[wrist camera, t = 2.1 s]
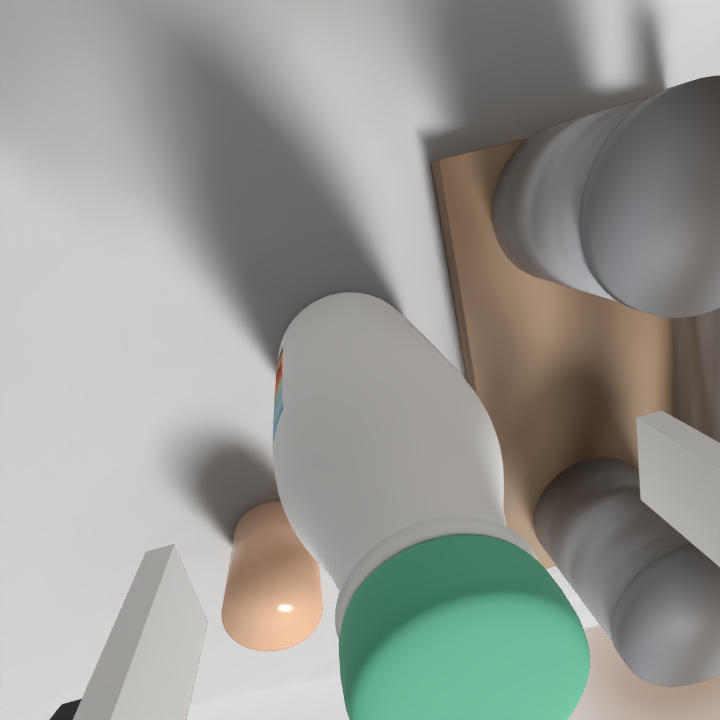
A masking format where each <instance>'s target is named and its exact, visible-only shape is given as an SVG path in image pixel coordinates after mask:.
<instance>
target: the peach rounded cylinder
mask: <svg viewBox="0 0 720 720" xmlns="http://www.w3.org/2000/svg"><path fill="white" fill-rule="evenodd" d="M322 610H323V606H322V594H321V582H320V569H319V563H318V562H317V561H316V560H315V559H314V558H313V556H312V555H311V554H310V553H309V552H308V550H307V549H306V548H305V547H304V545H303V544H302V543H301V541H300V540H299V538H298V537H297V535H296V533H295V532H294V530H293V528H292V526H291V525H290V523H289V521H288V518H287V516H286V514H285V511H284V509H283V506H282V503H281V501H271V502H266V503H262V504H260V505H257V506H255V507H253V508H252V509H250V510H249V511H248V512H246V513H245V514H244V515H243V516H242V518H241V519H240V520H239V522H238V524H237V526H236V529H235V534H234V540H233V546H232V552H231V559H230V565H229V571H228V577H227V583H226V589H225V595H224V601H223V607H222V622H223V625H224V628H225V630H226V632H227V633H228V634H229V636H230V637H231V638H232V639H233V640H235V641H236V642H237V643H239V644H240V645H242V646H244V647H247V648H249V649H253V650H257V651H279V650H284V649H287V648H290V647H293V646H295V645H297V644H299V643H301V642H302V641H304V640H305V639H306V638H308V637H309V636H310V635H311V634H312V633H313V632H314V630H315V629H316V628H317V626H318V624H319V622H320V620H321V616H322Z"/></svg>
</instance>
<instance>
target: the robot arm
mask: <svg viewBox="0 0 720 720" xmlns="http://www.w3.org/2000/svg"><path fill="white" fill-rule="evenodd" d="M636 422H637V441H638V460H639V479H640V498H641V500H642V501H643V502H644V503H645V504H646V505H648V506H649V507H650V508H651V509H652V510H653V511H655V512H656V513H657V514H658V515H659V516H660V517H662V518H663V519H664V520H665V521H666V522H667V523H669V524H670V525H671V526H672V527H673V528H675V529H676V530H677V531H678V532H679V533H680V534H682V535H683V536H684V537H685V538H686V539H687V540H689V541H690V542H691V543H692V544H693V545H694V546H696V547H697V548H698V549H699V550H700V551H701V552H703V553H704V554H705V555H706V556H707V557H708V558H710V559H711V560H712V561H713V562H714V563H715V564H717V565H718V566H719V567H720V443H719V442H717V441H715V440H714V439H712V438H710V437H708V436H707V435H705V434H703V433H701V432H699V431H698V430H696V429H694V428H692V427H690V426H689V425H687V424H685V423H683V422H682V421H680V420H678V419H676V418H674V417H673V416H671V415H669V414H667V413H665V412H664V411H658V412H655V413H651V414H648V415H644V416H640V417H637V418H636ZM207 622H208V621H207V619H206V617H205V614H204V612H203V610H202V607H201V605H200V603H199V600H198V598H197V596H196V594H195V591H194V589H193V587H192V584H191V582H190V580H189V577H188V575H187V573H186V570H185V568H184V566H183V563H182V561H181V559H180V556H179V554H178V552H177V550H176V547H175V545H174V544H173V545H169V546H166V547H162V548H158V549H155V550H151V551H148V552H146V553H145V555H144V558H143V560H142V562H141V564H140V567H139V569H138V571H137V574H136V576H135V578H134V580H133V583H132V585H131V587H130V590H129V592H128V594H127V597H126V599H125V601H124V603H123V606H122V608H121V610H120V613H119V615H118V617H117V619H116V622H115V624H114V626H113V629H112V631H111V633H110V636H109V638H108V640H107V642H106V645H105V647H104V649H103V652H102V654H101V656H100V658H99V661H98V663H97V665H96V668H95V670H94V672H93V675H92V677H91V679H90V681H89V684H88V686H87V688H86V691H85V693H84V695H83V697H82V699H79V700H76V701H72V702H69V703H65V704H62V705H61V706H60V707H59V709H58V710H57V711H56V712H55V714H54V715H53V716H52V717H51V719H50V720H187V716H188V711H189V706H190V702H191V697H192V692H193V688H194V683H195V678H196V674H197V669H198V664H199V660H200V655H201V650H202V646H203V641H204V636H205V632H206V627H207Z"/></svg>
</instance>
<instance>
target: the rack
mask: <svg viewBox="0 0 720 720" xmlns="http://www.w3.org/2000/svg"><path fill="white" fill-rule="evenodd" d="M431 168H432V174H433V180H434V186H435V192H436V198H437V204H438V209H439V215H440V221H441V227H442V233H443V239H444V245H445V251H446V257H447V263H448V268H449V274H450V280H451V286H452V292H453V298H454V304H455V310H456V316H457V322H458V327H459V333H460V339H461V345H462V351H463V357H464V363H465V369H466V375H467V381H468V384H469V385H470V386H471V387H472V389H473V390H474V391H475V393H476V394H477V396H478V397H479V399H480V401H481V402H482V404H483V406H484V408H485V409H486V411H487V413H488V415H489V417H490V419H491V422H492V424H493V427H494V429H495V432H496V435H497V438H498V441H499V445H500V450H501V455H502V461H503V474H504V499H503V507H504V516H505V520H506V525H507V527H509V528H510V529H512V530H513V531H515V532H516V533H517V534H519V535H520V536H521V537H522V538H523V539H524V540H525V541H526V542H527V543H528V544H529V545H530V547H531V548H532V549H533V551H534V552H535V554H536V556H537V558H538V560H539V562H540V563H541V564H542V566H543V567H544V568H545V569H548V568H551V567H554V566H557V567H558V569H559V570H560V571H561V573H562V574H563V575H564V577H565V578H566V579H567V581H568V582H569V584H570V585H571V586H572V588H573V589H574V590H575V592H576V593H577V594H578V596H579V597H580V598H581V600H582V601H583V603H584V604H585V605H586V607H587V608H588V609H589V611H590V612H591V613H592V615H593V616H594V617H595V619H596V620H597V622H598V623H599V624H600V626H601V627H602V628H603V630H604V631H605V632H606V634H607V635H608V636H609V638H610V639H611V640H612V642H613V643H614V646H615V648H616V650H617V652H618V653H619V655H620V656H621V658H622V659H623V660H624V662H625V663H626V664H627V666H628V667H629V669H630V670H631V671H632V672H633V673H634V674H635V675H636V676H638V677H639V678H640V679H642V680H644V681H646V682H648V683H651V684H654V685H659V686H666V687H678V686H686V685H692V684H695V683H699V682H702V681H705V680H708V679H710V678H712V677H714V676H716V675H719V674H720V567H719V566H718V565H717V564H715V563H714V562H713V561H712V560H711V559H710V558H708V557H707V556H706V555H705V554H704V553H703V552H701V551H700V550H699V549H698V548H697V547H696V546H694V545H693V544H692V543H691V542H690V541H689V540H687V539H686V538H685V537H684V536H683V535H682V534H680V533H679V532H678V531H677V530H676V529H675V528H673V527H672V526H671V525H670V524H669V523H667V522H666V521H665V520H664V519H663V518H662V517H660V516H659V515H658V514H657V513H656V512H655V511H653V510H652V509H651V508H650V507H649V506H648V505H646V504H645V503H644V502H643V501H642V500H641V498H640V479H639V460H638V441H637V422H636V418H637V417H640V416H644V415H648V414H651V413H655V412H658V411H664V412H665V413H667V414H669V415H671V416H673V417H674V418H676V419H678V420H680V421H682V422H683V423H685V424H687V425H689V426H690V427H692V428H694V429H696V430H698V431H699V432H701V433H703V434H705V435H707V436H708V437H710V438H712V439H714V440H715V441H717V442H719V443H720V76H711V77H705V78H700V79H697V80H693V81H690V82H687V83H684V84H680V85H677V86H674V87H671V88H668V89H666V90H664V91H661V92H659V93H657V94H655V95H653V96H651V97H648V98H644V99H641V100H637V101H634V102H631V103H627V104H624V105H621V106H617V107H614V108H610V109H607V110H604V111H600V112H597V113H594V114H590V115H587V116H583V117H580V118H577V119H573V120H570V121H566V122H563V123H560V124H556V125H553V126H550V127H547V128H545V129H543V130H541V131H539V132H537V133H535V134H534V135H532V136H531V137H529V138H527V139H523V140H518V141H514V142H510V143H506V144H502V145H498V146H494V147H490V148H486V149H482V150H477V151H473V152H469V153H465V154H461V155H457V156H453V157H449V158H445V159H441V160H437V161H433V162H431Z"/></svg>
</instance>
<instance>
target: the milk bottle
mask: <svg viewBox="0 0 720 720" xmlns="http://www.w3.org/2000/svg"><path fill="white" fill-rule="evenodd" d="M273 462H274V473H275V478H276V483H277V488H278V493H279V497H280V500H281V503H282V506H283V509H284V511H285V514H286V516H287V518H288V521H289V523H290V525H291V526H292V528H293V530H294V532H295V533H296V535H297V537H298V538H299V540H300V541H301V543H302V544H303V545H304V547H305V548H306V549H307V550H308V552H309V553H310V554H311V555H312V556H313V558H314V559H315V560H316V561H317V562H318V563H319V564H320V565H321V566H322V567H323V568H324V569H325V570H326V571H327V572H328V574H329V575H330V576H331V577H332V579H333V581H334V582H335V584H336V586H337V588H338V589H339V591H340V592H339V596H338V599H337V604H336V610H335V626H336V631H337V636H338V639H339V659H340V674H341V681H342V688H343V694H344V700H345V705H346V710H347V713H348V716H349V719H350V720H567V719H568V718H569V717H570V715H571V714H572V712H573V711H574V709H575V707H576V706H577V704H578V702H579V700H580V698H581V696H582V694H583V691H584V689H585V686H586V683H587V679H588V675H589V668H590V654H589V653H590V652H589V646H588V642H587V638H586V636H585V633H584V630H583V627H582V624H581V622H580V619H579V617H578V616H577V614H576V612H575V610H574V609H573V607H572V606H571V604H570V602H569V601H568V599H567V598H566V596H565V594H564V593H563V591H562V590H561V589H560V587H559V586H558V585H557V583H556V582H555V581H554V579H553V578H552V577H551V575H550V574H549V573H548V572H547V570H546V569H545V568H544V567H543V566H542V564H541V563H540V562H539V560H538V558H537V556H536V554H535V552H534V551H533V549H532V548H531V547H530V545H529V544H528V543H527V542H526V541H525V540H524V539H523V538H522V537H521V536H520V535H519V534H517V533H516V532H515V531H513V530H512V529H510V528H509V527H507V525H506V520H505V516H504V507H503V499H504V474H503V461H502V455H501V450H500V445H499V441H498V438H497V435H496V432H495V429H494V427H493V424H492V422H491V419H490V417H489V415H488V413H487V411H486V409H485V408H484V406H483V404H482V402H481V401H480V399H479V397H478V396H477V394H476V393H475V391H474V390H473V389H472V387H471V386H470V385H469V384H468V383H467V382H466V380H465V379H464V378H463V377H462V376H461V374H460V373H459V372H458V371H457V370H456V368H455V367H454V366H453V365H452V364H451V363H450V362H449V361H448V360H447V359H446V358H445V357H444V356H443V355H442V354H441V353H440V352H439V351H438V349H437V348H436V347H435V346H434V345H433V344H432V343H431V342H430V341H429V340H428V339H427V338H426V337H425V336H424V335H423V334H422V333H421V332H420V331H419V330H418V329H417V328H416V327H415V326H414V325H413V324H411V323H410V322H409V321H408V320H407V319H406V318H405V317H404V316H403V315H402V314H401V313H400V312H399V311H398V310H396V309H395V308H394V307H392V306H391V305H390V304H388V303H387V302H385V301H383V300H381V299H379V298H377V297H374V296H371V295H368V294H364V293H356V292H345V293H337V294H333V295H329V296H326V297H323V298H321V299H319V300H317V301H315V302H313V303H311V304H310V305H308V306H307V307H306V308H304V309H303V310H302V311H301V312H300V313H299V314H298V315H297V316H296V317H295V318H294V319H293V321H292V322H291V323H290V325H289V326H288V328H287V330H286V332H285V334H284V336H283V339H282V341H281V345H280V349H279V354H278V362H277V374H276V388H275V403H274V423H273Z"/></svg>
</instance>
